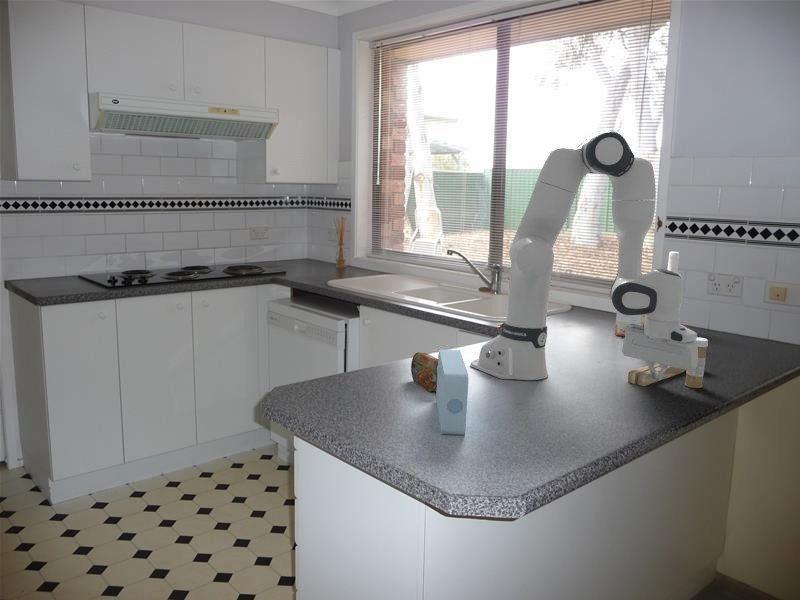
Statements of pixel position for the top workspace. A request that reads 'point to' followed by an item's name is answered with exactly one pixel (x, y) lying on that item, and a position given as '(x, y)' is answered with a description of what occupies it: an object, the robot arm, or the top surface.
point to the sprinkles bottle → (698, 365)
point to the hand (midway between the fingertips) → (655, 378)
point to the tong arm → (646, 380)
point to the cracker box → (627, 322)
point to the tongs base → (634, 373)
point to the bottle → (674, 262)
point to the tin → (425, 371)
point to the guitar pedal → (452, 392)
